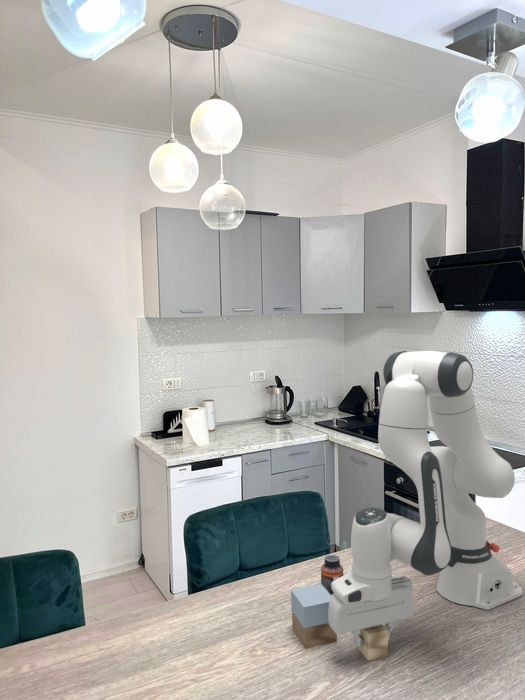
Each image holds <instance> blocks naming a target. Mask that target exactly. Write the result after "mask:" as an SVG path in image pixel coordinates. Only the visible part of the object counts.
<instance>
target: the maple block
mask: <svg viewBox="0 0 525 700" xmlns="http://www.w3.org/2000/svg"><path fill="white" fill-rule="evenodd" d="M357 634H358V633H357ZM358 635H361V636H362V638H364V646H363V647H357V646H356V647H357V649H358V651H359V652H360V653H361V654H362V656H364V658H365V659H366V661H368V662H369V661H373V660H378V659H382V658H386V657H388V656H389V640H388V629H387V628H386V627H385V624H382V625H378V626H374V627H369V628H365V629H360V633H359V634H358Z"/></svg>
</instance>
